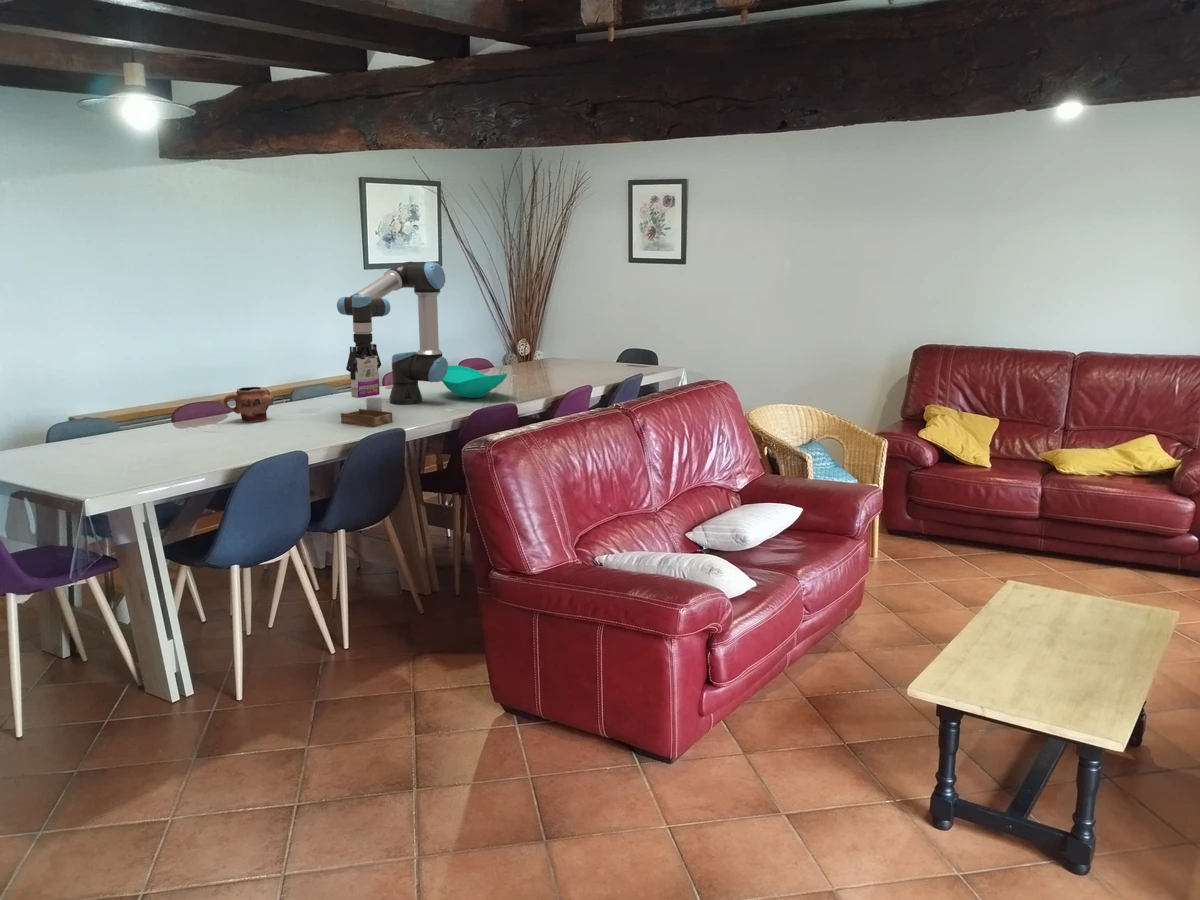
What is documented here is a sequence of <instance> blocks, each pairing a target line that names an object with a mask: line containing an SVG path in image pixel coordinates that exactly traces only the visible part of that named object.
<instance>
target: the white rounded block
mask: <svg viewBox="0 0 1200 900" xmlns="http://www.w3.org/2000/svg"><path fill="white" fill-rule="evenodd" d="M382 400H383V399H382V398H381V397H373V396H372V397H366V398H365V404H366V410H375V411H383V402H382Z"/></svg>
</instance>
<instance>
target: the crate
mask: <svg viewBox="0 0 1200 900" xmlns="http://www.w3.org/2000/svg"><path fill="white" fill-rule="evenodd" d="M390 422H391V423H393V412H392V411H391V412H389V411H384V410H382V411H375V410H367V408H366V409H363V408H358V410H354V411H352V412H347V413H345V412H341V413H340V423H341V424H344V425H346V424H347V425H352V426H353V425H354V426H355V425H356V426H361V427H362V426H363V427H369V428H375V427H379V426H382V425H387V424H390Z"/></svg>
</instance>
